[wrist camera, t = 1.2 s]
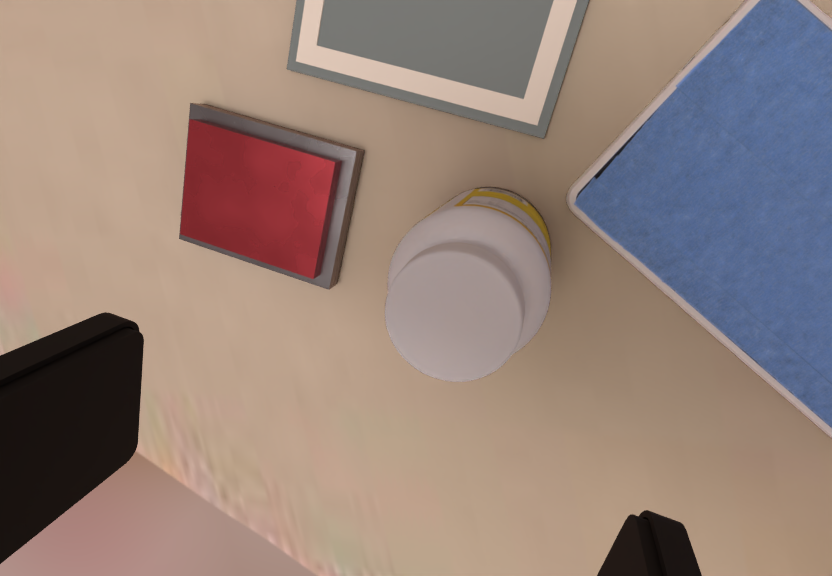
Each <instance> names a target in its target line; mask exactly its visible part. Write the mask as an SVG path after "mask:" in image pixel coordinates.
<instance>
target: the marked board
mask: <svg viewBox="0 0 832 576" xmlns="http://www.w3.org/2000/svg"><path fill="white" fill-rule="evenodd" d="M588 2H589V0H297V1H296V8H295V15H294V22H293V29H292V36H291V43H290V50H289V57H288V64H287V69H288V70H291V71H295V72H299V73H302V74H306V75H310V76H314V77H317V78H321V79H325V80H328V81H332V82H336V83H339V84H343V85H347V86H351V87H354V88H358V89H362V90H365V91H369V92H373V93H377V94H380V95H384V96H388V97H391V98H395V99H399V100H403V101H406V102H410V103H414V104H417V105H421V106H425V107H428V108H432V109H436V110H440V111H443V112H447V113H451V114H454V115H458V116H462V117H466V118H469V119H473V120H477V121H480V122H484V123H488V124H492V125H495V126H499V127H503V128H506V129H510V130H514V131H517V132H521V133H525V134H529V135H532V136H536V137H540V138H543V139H544V137H545V134H546V131H547V128H548V125H549V122H550V118H551V115H552V112H553V109H554V106H555V103H556V100H557V97H558V94H559V91H560V88H561V85H562V82H563V79H564V76H565V72H566V69H567V66H568V63H569V60H570V57H571V54H572V51H573V48H574V45H575V42H576V39H577V36H578V33H579V29H580V26H581V23H582V20H583V17H584V14H585V11H586V8H587V5H588Z"/></svg>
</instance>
